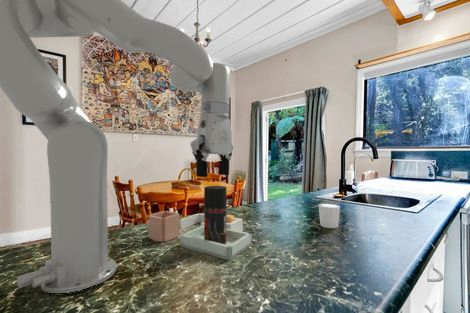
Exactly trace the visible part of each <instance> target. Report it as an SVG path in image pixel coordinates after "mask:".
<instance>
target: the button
mask: <svg viewBox="0 0 470 313" xmlns="http://www.w3.org/2000/svg"><path fill="white" fill-rule="evenodd" d="M234 218H235V216H234V215H232V214H226V222H227V223H231V222H233V221H234Z"/></svg>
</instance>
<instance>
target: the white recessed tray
mask: <svg viewBox="0 0 470 313" xmlns="http://www.w3.org/2000/svg"><path fill="white" fill-rule="evenodd" d="M243 221H244V220H243V218H239V217H234V221H233V222H231V223H227V222H226V229H231V230H236V231H241V232H244V231H243V230H244V228H243V227H244V225H243V224H244V223H243ZM198 223H200V226H199V227H201V226H203V225H204V213H200V212H199V213H196V214H192V215H189V216H187V217H184V218H181V219H180V218H179V230H182V229H184V228H187V227H190V226H193V225H195V224H198Z"/></svg>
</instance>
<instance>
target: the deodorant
mask: <svg viewBox="0 0 470 313" xmlns="http://www.w3.org/2000/svg"><path fill="white" fill-rule="evenodd" d="M203 192H204V194H203V195H204V198H203V200H204V201H203V203H204V205H203V206H204V207H203V210H204V213H203V214H204V240H208V241H213V242H217V243H221V244H226V215H227V187H226V186H224V185H209V186H204V188H203Z"/></svg>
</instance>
